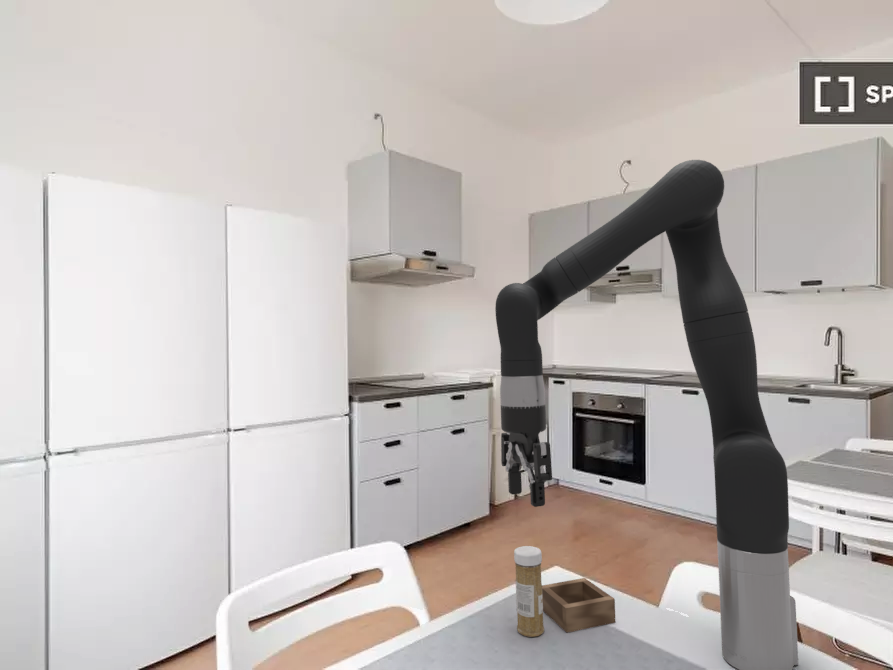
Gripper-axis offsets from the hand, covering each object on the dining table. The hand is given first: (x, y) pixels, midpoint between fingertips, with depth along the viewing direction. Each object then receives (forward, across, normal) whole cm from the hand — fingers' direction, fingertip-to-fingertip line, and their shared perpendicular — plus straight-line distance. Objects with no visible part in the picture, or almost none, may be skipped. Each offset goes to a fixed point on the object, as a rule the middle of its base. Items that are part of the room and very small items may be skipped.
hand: (526, 499), depth 93 cm
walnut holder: (+22, +2, -10) cm, 24 cm away
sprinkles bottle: (+22, 0, 0) cm, 22 cm away
